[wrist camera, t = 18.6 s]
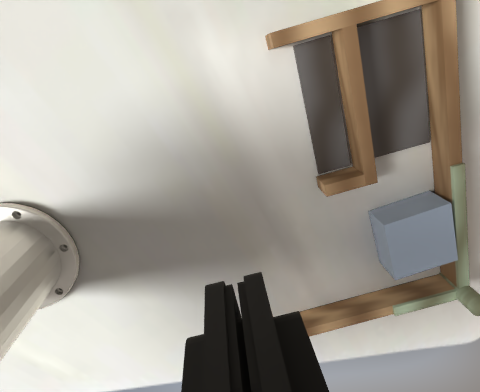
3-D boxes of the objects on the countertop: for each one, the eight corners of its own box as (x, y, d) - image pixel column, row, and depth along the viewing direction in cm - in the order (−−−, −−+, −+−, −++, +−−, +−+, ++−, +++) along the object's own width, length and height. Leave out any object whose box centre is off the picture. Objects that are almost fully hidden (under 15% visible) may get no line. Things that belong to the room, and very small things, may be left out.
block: (378, 261, 42) (395, 280, 38) (367, 210, 39) (384, 225, 35) (435, 242, 41) (458, 259, 38) (428, 189, 39) (451, 203, 35)
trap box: (250, 335, 44) (255, 375, 38) (160, 66, 32) (149, 66, 27) (454, 280, 43) (490, 313, 38) (437, -15, 32) (486, -32, 26)
